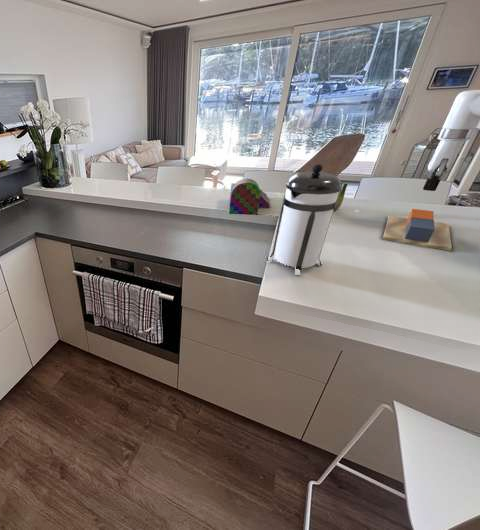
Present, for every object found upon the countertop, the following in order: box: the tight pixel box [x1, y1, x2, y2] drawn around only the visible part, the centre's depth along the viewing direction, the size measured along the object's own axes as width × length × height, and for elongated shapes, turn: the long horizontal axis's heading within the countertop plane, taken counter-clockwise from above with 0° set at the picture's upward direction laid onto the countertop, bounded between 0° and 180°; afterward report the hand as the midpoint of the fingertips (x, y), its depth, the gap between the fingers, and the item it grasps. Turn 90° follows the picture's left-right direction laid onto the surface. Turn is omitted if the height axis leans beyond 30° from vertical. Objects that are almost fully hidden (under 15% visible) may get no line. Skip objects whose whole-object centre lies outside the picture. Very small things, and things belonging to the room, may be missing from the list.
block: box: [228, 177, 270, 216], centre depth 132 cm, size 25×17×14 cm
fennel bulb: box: [334, 181, 349, 211], centre depth 120 cm, size 6×5×12 cm
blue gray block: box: [405, 217, 435, 243], centre depth 94 cm, size 6×9×4 cm, turn 138°
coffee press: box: [266, 163, 343, 271], centre depth 82 cm, size 17×16×30 cm
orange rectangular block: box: [406, 208, 435, 228], centre depth 100 cm, size 6×9×4 cm, turn 138°
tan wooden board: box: [382, 215, 453, 252], centre depth 99 cm, size 16×22×1 cm
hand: (428, 189), depth 102 cm, fingers closed
